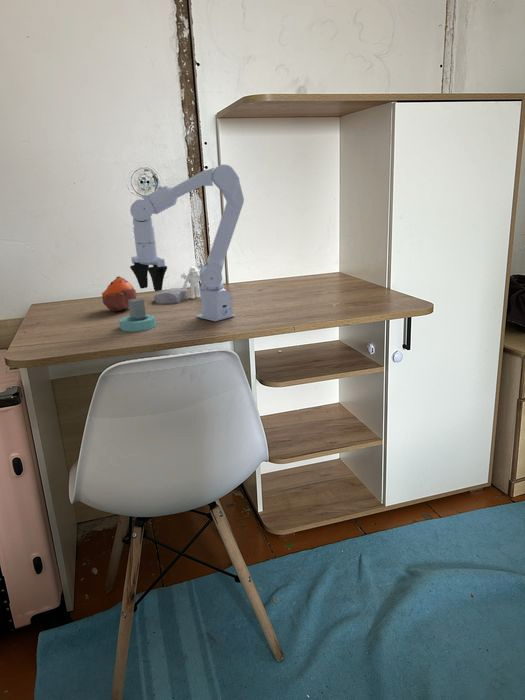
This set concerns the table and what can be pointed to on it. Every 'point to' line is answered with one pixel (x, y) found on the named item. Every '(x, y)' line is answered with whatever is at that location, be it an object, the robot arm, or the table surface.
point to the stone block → (171, 296)
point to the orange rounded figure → (118, 294)
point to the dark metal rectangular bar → (137, 309)
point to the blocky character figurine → (192, 280)
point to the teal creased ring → (137, 324)
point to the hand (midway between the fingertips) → (151, 289)
